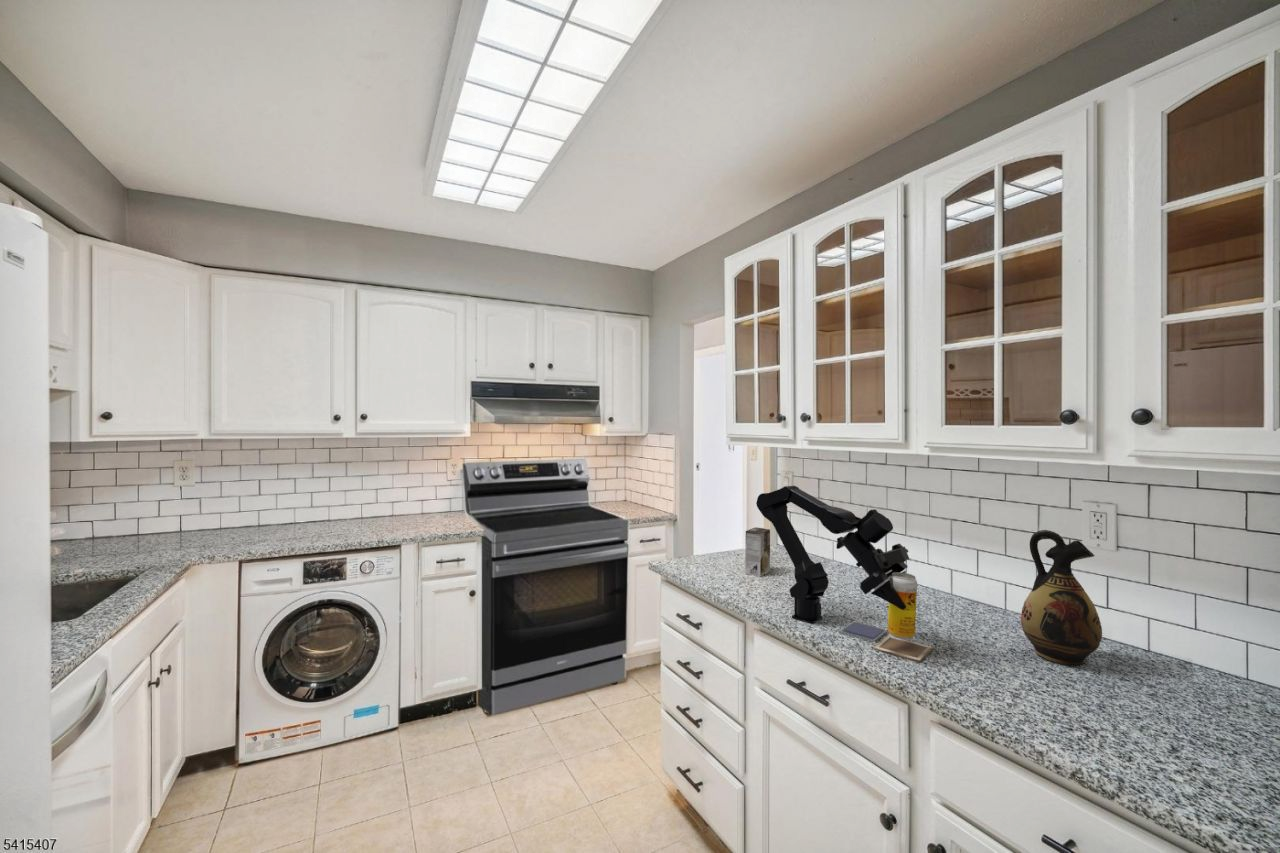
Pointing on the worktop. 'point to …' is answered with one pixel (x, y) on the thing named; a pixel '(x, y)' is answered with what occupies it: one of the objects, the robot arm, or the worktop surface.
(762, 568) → the coffee box
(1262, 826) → the worktop surface
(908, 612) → the beer can
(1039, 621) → the ceramic jug
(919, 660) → the marked square
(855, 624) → the ink pad
